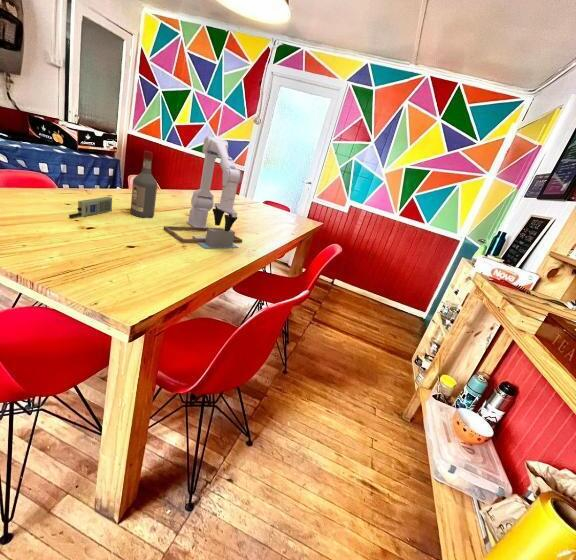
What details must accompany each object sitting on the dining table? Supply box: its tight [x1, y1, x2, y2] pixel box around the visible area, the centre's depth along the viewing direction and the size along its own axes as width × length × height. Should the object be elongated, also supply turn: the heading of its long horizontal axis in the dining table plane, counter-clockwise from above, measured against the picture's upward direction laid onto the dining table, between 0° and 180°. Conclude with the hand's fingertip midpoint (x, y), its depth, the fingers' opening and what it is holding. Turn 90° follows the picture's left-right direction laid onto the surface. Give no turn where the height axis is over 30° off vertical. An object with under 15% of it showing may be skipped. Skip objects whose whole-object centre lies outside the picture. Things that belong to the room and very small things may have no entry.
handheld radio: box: [68, 196, 113, 219], centre depth 138 cm, size 7×3×25 cm
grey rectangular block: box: [205, 227, 236, 247], centre depth 143 cm, size 4×12×7 cm, turn 135°
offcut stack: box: [192, 235, 206, 239], centre depth 149 cm, size 4×15×2 cm, turn 130°
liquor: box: [130, 150, 158, 219], centre depth 152 cm, size 9×9×30 cm
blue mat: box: [197, 243, 239, 250], centre depth 144 cm, size 6×18×1 cm, turn 135°
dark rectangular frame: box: [163, 225, 243, 244], centre depth 151 cm, size 17×32×2 cm, turn 135°
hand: (222, 228), depth 142 cm, fingers open, 7 cm apart
